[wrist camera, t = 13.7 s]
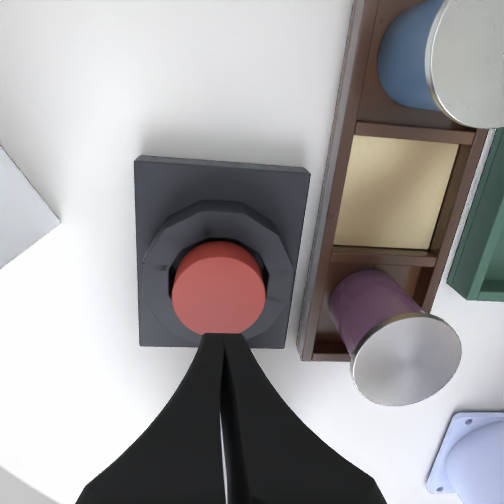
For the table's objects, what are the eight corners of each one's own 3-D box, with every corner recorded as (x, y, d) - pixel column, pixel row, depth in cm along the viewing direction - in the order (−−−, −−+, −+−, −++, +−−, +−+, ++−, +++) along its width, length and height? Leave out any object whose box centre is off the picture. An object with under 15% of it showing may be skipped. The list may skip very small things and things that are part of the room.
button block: (139, 154, 18) (124, 168, 15) (304, 167, 19) (321, 182, 16) (143, 331, 22) (132, 369, 19) (280, 334, 23) (290, 371, 20)
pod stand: (514, -24, 16) (542, -33, 15) (403, 347, 24) (414, 363, 23) (361, -46, 16) (374, -58, 14) (296, 345, 23) (301, 361, 22)
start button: (175, 237, 17) (172, 254, 15) (265, 242, 17) (270, 259, 16) (174, 315, 18) (171, 337, 17) (257, 317, 19) (261, 338, 17)
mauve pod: (416, 264, 21) (477, 318, 16) (395, 338, 23) (443, 406, 18) (329, 260, 21) (365, 315, 16) (315, 336, 23) (343, 406, 18)
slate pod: (493, -2, 16) (612, -38, 11) (457, 121, 18) (547, 135, 13) (381, -17, 16) (458, -63, 11) (357, 111, 18) (412, 122, 13)
